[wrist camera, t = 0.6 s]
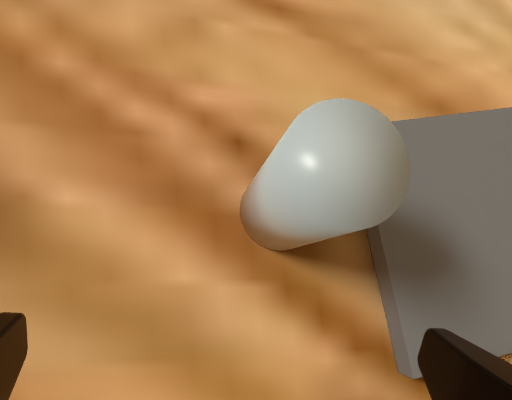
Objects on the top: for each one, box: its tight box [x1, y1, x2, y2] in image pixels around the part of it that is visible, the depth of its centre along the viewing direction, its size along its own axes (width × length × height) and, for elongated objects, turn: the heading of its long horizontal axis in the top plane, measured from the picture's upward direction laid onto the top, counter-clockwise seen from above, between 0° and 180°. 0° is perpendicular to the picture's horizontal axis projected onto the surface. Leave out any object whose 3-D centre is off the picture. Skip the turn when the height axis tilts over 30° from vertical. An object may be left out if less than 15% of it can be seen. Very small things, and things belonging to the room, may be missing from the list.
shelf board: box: [366, 107, 512, 379], centre depth 24 cm, size 14×12×2 cm
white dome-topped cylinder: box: [240, 98, 411, 251], centre depth 18 cm, size 4×4×10 cm
